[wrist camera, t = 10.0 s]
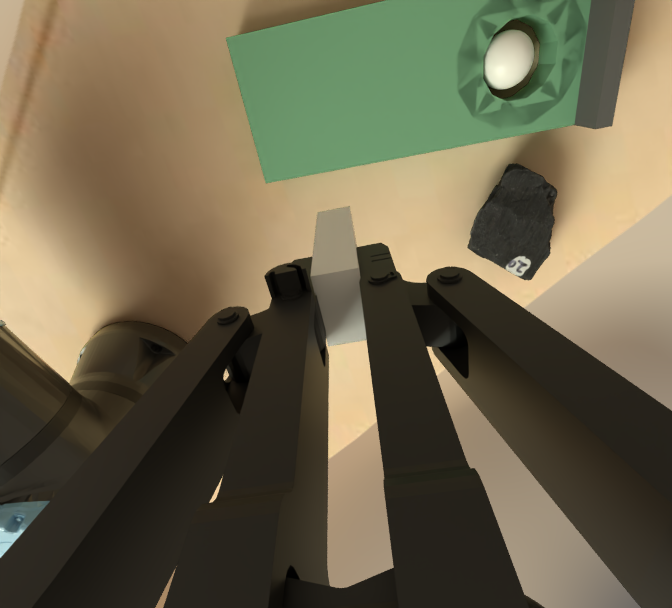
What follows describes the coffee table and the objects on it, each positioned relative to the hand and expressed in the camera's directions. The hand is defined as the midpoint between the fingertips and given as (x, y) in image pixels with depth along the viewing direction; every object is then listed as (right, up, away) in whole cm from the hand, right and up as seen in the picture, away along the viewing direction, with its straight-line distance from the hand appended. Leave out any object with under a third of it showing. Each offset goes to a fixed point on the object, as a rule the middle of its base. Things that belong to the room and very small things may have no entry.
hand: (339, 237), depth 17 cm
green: (+6, +16, +15) cm, 23 cm away
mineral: (+17, +6, +21) cm, 28 cm away
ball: (+13, +16, +12) cm, 24 cm away
